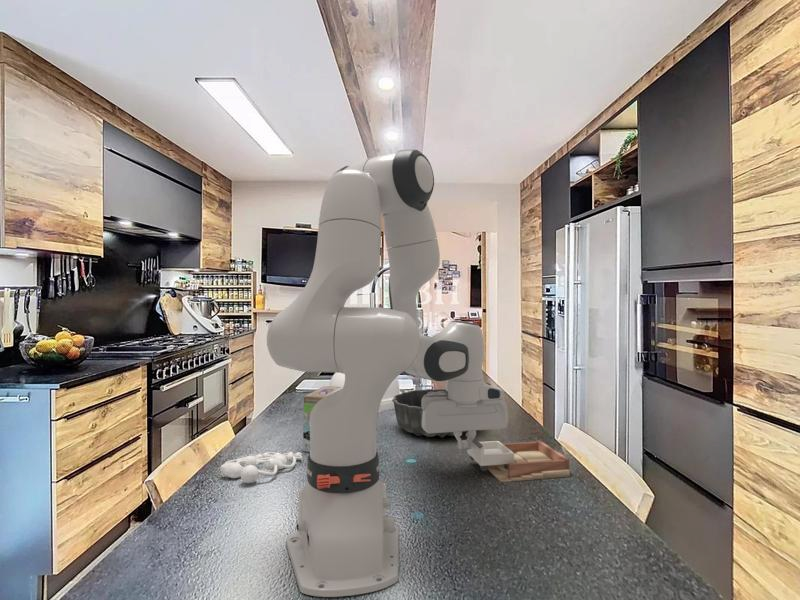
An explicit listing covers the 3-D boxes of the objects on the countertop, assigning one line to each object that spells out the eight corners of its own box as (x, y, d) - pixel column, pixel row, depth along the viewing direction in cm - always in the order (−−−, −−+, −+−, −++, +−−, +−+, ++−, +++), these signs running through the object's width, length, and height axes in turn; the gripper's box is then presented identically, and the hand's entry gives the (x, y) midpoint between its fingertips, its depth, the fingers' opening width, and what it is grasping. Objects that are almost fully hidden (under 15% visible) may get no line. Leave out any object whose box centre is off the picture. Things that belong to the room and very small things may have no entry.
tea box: (338, 455, 120) (338, 397, 119) (301, 452, 122) (301, 395, 121) (355, 437, 134) (355, 386, 134) (322, 435, 136) (322, 384, 136)
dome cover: (314, 397, 186) (314, 362, 185) (384, 391, 198) (384, 358, 198) (337, 417, 156) (337, 375, 156) (418, 408, 169) (418, 369, 168)
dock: (571, 476, 106) (571, 460, 106) (500, 482, 102) (500, 465, 102) (537, 452, 121) (537, 438, 121) (475, 457, 118) (475, 442, 118)
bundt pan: (380, 438, 133) (380, 403, 133) (406, 415, 158) (406, 386, 158) (472, 448, 125) (472, 410, 125) (484, 422, 151) (484, 391, 150)
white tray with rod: (514, 470, 107) (514, 442, 107) (478, 473, 105) (478, 444, 105) (498, 456, 116) (498, 430, 115) (465, 459, 114) (465, 432, 114)
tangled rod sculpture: (276, 456, 122) (276, 440, 123) (316, 463, 114) (316, 446, 115) (210, 478, 106) (209, 460, 107) (251, 488, 98) (250, 468, 99)
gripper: (424, 395, 104) (425, 457, 104) (510, 391, 108) (510, 450, 108) (418, 389, 110) (418, 447, 111) (499, 385, 114) (499, 441, 115)
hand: (464, 448), depth 110 cm, fingers closed
